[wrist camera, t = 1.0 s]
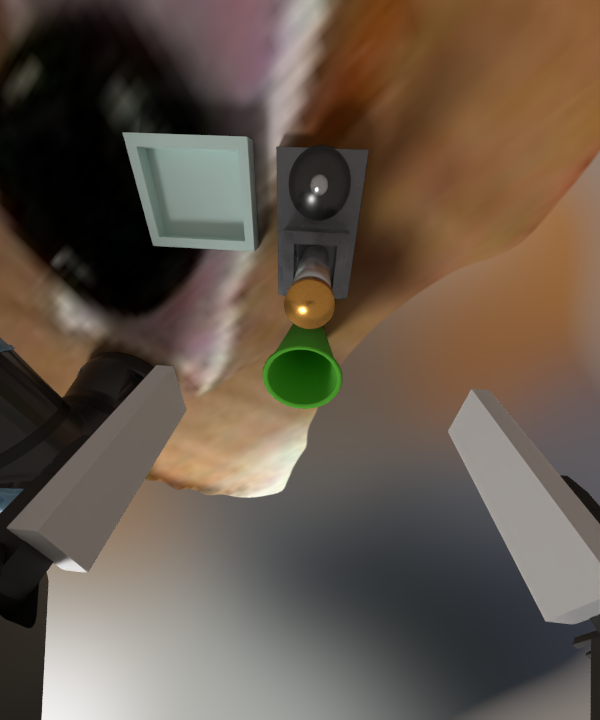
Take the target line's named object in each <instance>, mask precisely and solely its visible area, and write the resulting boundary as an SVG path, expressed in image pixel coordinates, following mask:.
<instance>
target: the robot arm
mask: <svg viewBox="0 0 600 720" xmlns="http://www.w3.org/2000/svg"><path fill="white" fill-rule="evenodd" d="M13 349H15V348H14V347H13V346H12V345H8V344H7V343H6V342H5V341H3V340H2V339H1V338H0V720H41V715H42V696H43V676H44V656H45V638H46V618H47V599H48V598H47V597H48V576H47V573H46V572H47V570H48V569H49V567H50V566H51V565H52V563H54V564H56V565H57V566H58V567H60V568H61V569H63V570H69V571H79V572H89V570H90V568H91V567H92V565H93V563H94V562H95V560H96V559H97V557H98V555H99V554H100V552H101V550H102V548H103V547H104V545H105V543H106V542H107V540H108V539H109V537H110V535H111V534H112V532H113V530H114V529H115V527H116V525H117V524H118V522H119V521H120V519H121V517H122V516H123V514H124V512H125V511H126V509H127V507H128V506H129V504H130V502H131V501H132V499H133V497H134V496H135V494H136V492H137V491H138V489H139V488H140V486H141V484H142V483H143V481H144V479H145V478H146V476H147V474H148V473H149V471H150V469H151V468H152V466H153V464H154V463H155V461H156V459H157V458H158V456H159V454H160V453H161V451H162V450H163V448H164V446H165V445H166V443H167V441H168V440H169V438H170V436H171V435H172V433H173V431H174V430H175V428H176V426H177V425H178V423H179V421H180V420H181V418H182V416H183V415H184V413H185V412H186V407H185V404H184V400H183V397H182V394H181V390H180V387H179V383H178V380H177V377H176V373H175V370H174V367H173V366H163V365H156V366H155V368H153V367H152V366H150V365H149V364H147V363H146V362H144V361H142V360H140V359H138V358H136V357H133V356H130V355H127V354H123V353H115V352H108V353H102V354H99V355H97V356H95V357H94V358H92V359H91V360H90V361H88V362H87V363H86V364H85V365H83V367H82V368H81V369H80V371H79V373H78V375H77V378H76V379H75V381H74V382H73V384H72V385H71V387H70V388H69V390H68V391H67V393H66V394H65V396H64V397H62V398H61V397H60V396H59V395H58V394H57V393H56V392H55V391H54V390H53V389H52V388H51V387H50V386H49V385H48V384H47V383H46V382H45V381H44V380H43V379H42V378H41V377H40V376H39V375H38V374H37V373H36V372H35V371H34V370H33V369H32V368H31V367H30V366H29V365H28V364H27V363H26V362H25V361H24V360H23V359H22V358H21V357H20V356H19V355H18V354H17V353H16V352H15V351H14V350H13ZM448 432H449V435H450V436H451V438H452V440H453V442H454V444H455V446H456V448H457V450H458V452H459V454H460V456H461V458H462V460H463V462H464V464H465V466H466V468H467V470H468V471H469V473H470V475H471V477H472V479H473V481H474V483H475V485H476V487H477V489H478V491H479V493H480V495H481V497H482V498H483V500H484V503H485V505H486V506H487V508H488V510H489V512H490V514H491V516H492V518H493V520H494V522H495V524H496V526H497V528H498V530H499V532H500V534H501V536H502V538H503V539H504V541H505V543H506V545H507V547H508V549H509V551H510V553H511V555H512V557H513V559H514V561H515V563H516V565H517V567H518V569H519V571H520V572H521V574H522V576H523V578H524V580H525V582H526V584H527V586H528V588H529V590H530V592H531V594H532V596H533V598H534V600H535V602H536V603H537V606H538V608H539V610H540V611H541V613H542V615H543V617H544V619H545V621H548V622H556V623H566V624H577V623H579V622H582V621H585V620H588V619H590V620H591V621H592V623H593V624H594V626H595V628H596V629H597V630H596V631H593V632H590V633H587V634H584V635H581V636H578V637H575V639H574V641H573V646H575V647H576V648H577V649H579V648H583V647H586V646H590V645H591V651H589V652H587V653H586V656H587V657H589V658H590V659H591V720H600V506H599V505H598V504H597V503H596V502H595V501H594V499H593V498H592V497H591V496H590V495H589V493H588V492H587V491H585V490H584V489H583V488H582V487H580V486H579V485H578V484H577V483H576V482H574V481H573V480H572V479H571V478H569V477H568V476H561V475H559V474H558V473H557V471H556V470H555V469H554V468H553V467H552V466H551V464H550V463H549V462H548V461H547V459H546V458H545V457H544V456H543V455H542V453H541V452H540V451H539V450H538V448H537V447H536V446H535V445H534V444H533V442H532V441H531V440H530V439H529V437H528V436H527V435H526V434H525V433H524V432H523V430H522V429H521V428H520V427H519V425H518V424H517V423H516V422H515V420H514V419H513V418H512V417H511V416H510V414H509V413H508V412H507V411H506V410H505V408H504V407H503V406H502V405H501V403H500V402H499V401H498V400H497V399H496V397H495V396H494V395H493V394H492V393H491V391H490V390H478V389H471V391H470V393H469V395H468V396H467V398H466V400H465V402H464V404H463V405H462V407H461V409H460V411H459V413H458V415H457V416H456V418H455V420H454V422H453V423H452V426H451V427H450V429H449V431H448Z"/></svg>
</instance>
